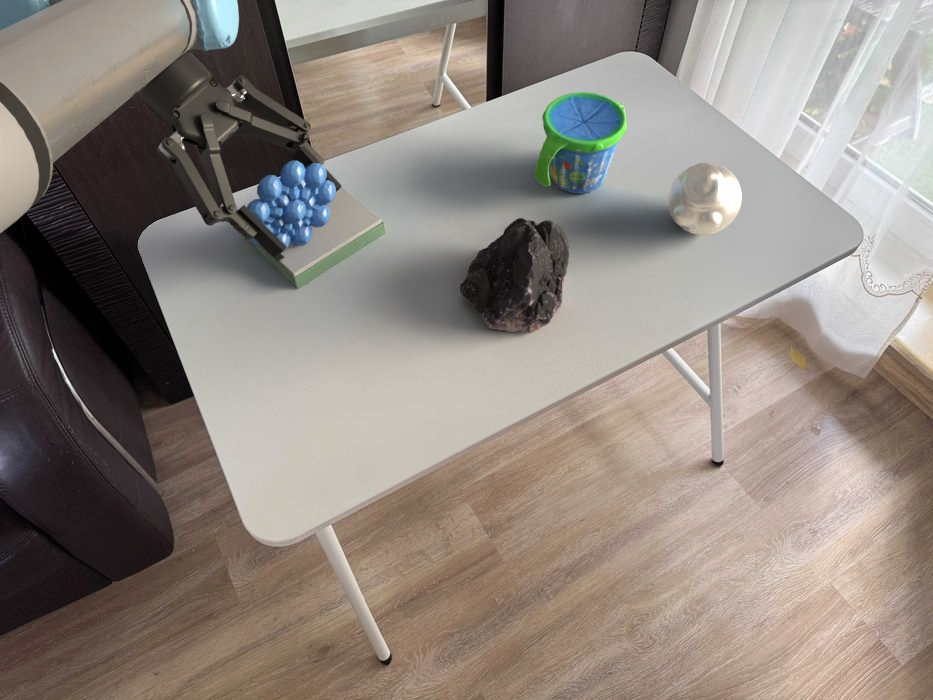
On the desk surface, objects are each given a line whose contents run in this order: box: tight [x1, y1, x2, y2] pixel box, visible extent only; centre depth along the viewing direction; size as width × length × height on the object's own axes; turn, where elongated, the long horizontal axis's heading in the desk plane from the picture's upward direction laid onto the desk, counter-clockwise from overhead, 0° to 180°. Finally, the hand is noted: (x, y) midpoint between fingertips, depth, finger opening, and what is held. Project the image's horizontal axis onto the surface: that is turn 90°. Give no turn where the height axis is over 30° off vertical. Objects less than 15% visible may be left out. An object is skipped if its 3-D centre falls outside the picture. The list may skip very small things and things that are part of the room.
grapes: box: [246, 160, 336, 251], centre depth 86 cm, size 12×7×12 cm, turn 122°
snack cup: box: [534, 91, 628, 195], centre depth 95 cm, size 16×10×10 cm
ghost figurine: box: [667, 162, 743, 236], centre depth 89 cm, size 9×10×10 cm
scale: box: [246, 186, 386, 289], centre depth 93 cm, size 14×13×3 cm
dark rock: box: [459, 217, 570, 334], centre depth 84 cm, size 13×14×10 cm
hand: (309, 221), depth 86 cm, fingers open, 11 cm apart
